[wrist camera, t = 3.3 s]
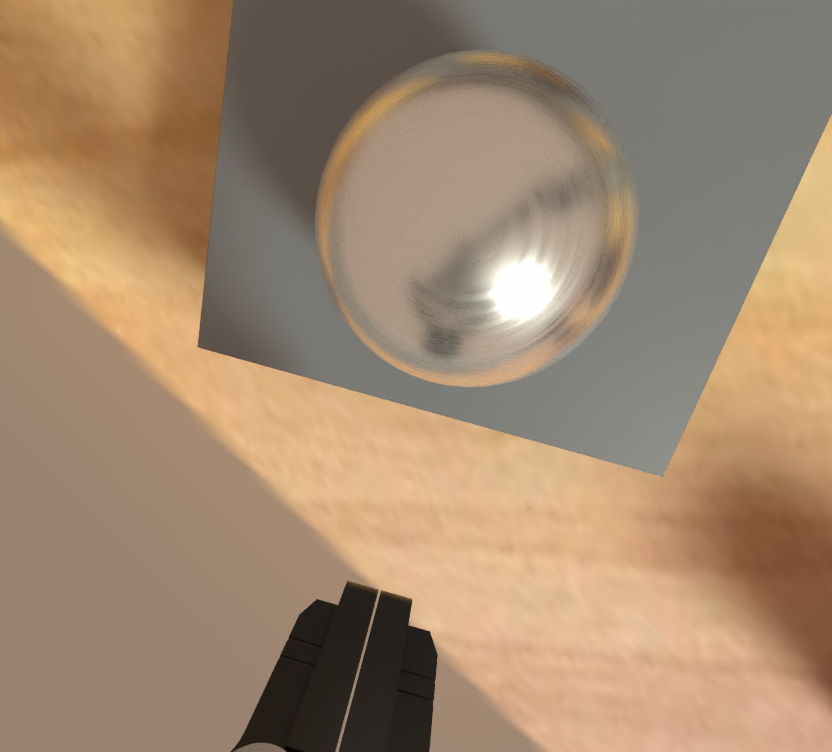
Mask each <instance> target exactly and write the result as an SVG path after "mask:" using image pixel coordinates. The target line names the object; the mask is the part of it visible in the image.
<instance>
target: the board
mask: <svg viewBox="0 0 832 752" xmlns="http://www.w3.org/2000/svg"><path fill="white" fill-rule="evenodd" d="M467 50H499V51H505V52H511V53H518V54H521V55H524V56H527V57H531V58H534V59H537V60H540V61H542V62H544V63H546V64H548V65H550V66H552V67H554V68H556V69H558V70H560V71H562V72H563V73H565V74H566V75H568V76H569V77H570V78H572V79H573V80H575V81H576V82H578V83H579V84H580V85H581V86H583V87H584V88H585V89H586V90H587V91H588V92H589V93H590V94H591V95H592V96H593V97H594V98H595V99H596V100H597V101H598V102H599V104H600V105H601V106H602V107H603V109H604V110H605V111H606V113H607V114H608V115H609V117H610V118H611V119H612V121H613V123H614V124H615V126H616V128H617V130H618V132H619V133H620V135H621V137H622V139H623V141H624V143H625V146H626V149H627V151H628V154H629V157H630V159H631V162H632V166H633V170H634V175H635V179H636V184H637V192H638V204H639V218H638V234H637V239H636V245H635V251H634V255H633V259H632V262H631V265H630V268H629V271H628V275H627V277H626V279H625V282H624V284H623V286H622V288H621V290H620V293H619V295H618V297H617V298H616V300H615V302H614V303H613V305H612V307H611V308H610V310H609V311H608V313H607V315H606V316H605V317H604V318H603V320H602V321H601V322H600V323H599V325H598V326H597V327H596V328H595V330H594V331H593V332H592V333H591V334H590V335H589V336H588V337H587V338H586V339H585V340H584V341H583V342H582V343H581V344H580V345H579V346H578V347H577V348H575V349H574V350H573V351H571V352H570V353H569V354H567V355H566V356H565V357H564V358H562V359H561V360H559V361H557V362H556V363H554V364H552V365H551V366H549V367H547V368H546V369H544V370H542V371H539V372H537V373H535V374H532V375H530V376H528V377H525V378H522V379H519V380H515V381H512V382H509V383H505V384H499V385H493V386H486V387H458V386H448V385H443V384H438V383H433V382H429V381H426V380H423V379H420V378H417V377H415V376H412V375H410V374H408V373H406V372H404V371H402V370H399V369H397V368H395V367H394V366H392V365H391V364H389V363H388V362H386V361H385V360H383V359H382V358H380V357H379V356H377V355H376V354H375V353H374V352H373V351H372V350H370V349H369V348H368V347H367V346H366V345H365V344H364V343H363V342H362V341H361V340H360V339H359V338H358V337H357V336H356V335H355V334H354V333H353V331H352V330H351V329H350V328H349V326H348V325H347V323H346V322H345V321H344V319H343V318H342V316H341V315H340V313H339V312H338V310H337V308H336V306H335V304H334V302H333V300H332V299H331V297H330V294H329V292H328V289H327V287H326V284H325V282H324V279H323V276H322V272H321V268H320V264H319V260H318V255H317V248H316V240H315V210H316V201H317V193H318V189H319V185H320V180H321V176H322V173H323V170H324V167H325V164H326V162H327V159H328V156H329V153H330V151H331V149H332V148H333V146H334V144H335V142H336V140H337V138H338V136H339V134H340V132H341V131H342V129H343V128H344V126H345V125H346V124H347V122H348V121H349V119H350V118H351V116H352V115H353V114H354V112H355V111H356V110H357V109H358V108H359V107H360V106H361V105H362V104H363V102H364V101H365V100H366V99H367V98H368V97H369V96H370V95H371V94H373V93H374V92H375V91H376V90H377V89H378V88H380V87H381V86H382V85H383V84H384V83H385V82H387V81H388V80H390V79H392V78H393V77H395V76H396V75H398V74H399V73H401V72H402V71H404V70H406V69H408V68H410V67H412V66H414V65H416V64H419V63H421V62H423V61H425V60H428V59H431V58H434V57H438V56H441V55H444V54H448V53H454V52H461V51H467ZM831 114H832V0H234V1H233V10H232V20H231V30H230V39H229V49H228V59H227V68H226V78H225V88H224V97H223V107H222V117H221V126H220V136H219V146H218V155H217V165H216V175H215V184H214V194H213V204H212V214H211V223H210V233H209V243H208V252H207V262H206V272H205V281H204V291H203V301H202V310H201V320H200V330H199V339H198V347H199V348H202V349H206V350H210V351H213V352H217V353H220V354H224V355H228V356H231V357H235V358H238V359H242V360H246V361H249V362H253V363H256V364H260V365H264V366H267V367H271V368H274V369H278V370H281V371H285V372H289V373H292V374H296V375H299V376H303V377H307V378H310V379H314V380H317V381H321V382H325V383H328V384H332V385H335V386H339V387H343V388H346V389H350V390H353V391H357V392H360V393H364V394H368V395H371V396H375V397H378V398H382V399H386V400H389V401H393V402H396V403H400V404H404V405H407V406H411V407H414V408H418V409H422V410H425V411H429V412H432V413H436V414H439V415H443V416H447V417H450V418H454V419H457V420H461V421H465V422H468V423H472V424H475V425H479V426H483V427H486V428H490V429H493V430H497V431H501V432H504V433H508V434H511V435H515V436H518V437H522V438H526V439H529V440H533V441H536V442H540V443H544V444H547V445H551V446H554V447H558V448H562V449H565V450H569V451H572V452H576V453H580V454H583V455H587V456H590V457H594V458H597V459H601V460H605V461H608V462H612V463H615V464H619V465H623V466H626V467H630V468H633V469H637V470H641V471H644V472H648V473H651V474H655V475H659V476H662V477H663V475H664V473H665V471H666V469H667V466H668V464H669V462H670V460H671V458H672V456H673V454H674V451H675V449H676V447H677V445H678V443H679V441H680V438H681V436H682V434H683V432H684V430H685V428H686V426H687V423H688V421H689V419H690V417H691V415H692V413H693V411H694V408H695V406H696V404H697V402H698V400H699V398H700V395H701V393H702V391H703V389H704V387H705V385H706V383H707V380H708V378H709V376H710V374H711V372H712V370H713V368H714V365H715V363H716V361H717V359H718V357H719V355H720V352H721V350H722V348H723V346H724V344H725V342H726V340H727V337H728V335H729V333H730V331H731V329H732V327H733V325H734V322H735V320H736V318H737V316H738V314H739V312H740V309H741V307H742V305H743V303H744V301H745V299H746V297H747V294H748V292H749V290H750V288H751V286H752V284H753V282H754V279H755V277H756V275H757V273H758V271H759V269H760V266H761V264H762V262H763V260H764V258H765V256H766V254H767V251H768V249H769V247H770V245H771V243H772V241H773V239H774V236H775V234H776V232H777V230H778V228H779V226H780V224H781V221H782V219H783V217H784V215H785V213H786V211H787V208H788V206H789V204H790V202H791V200H792V198H793V196H794V193H795V191H796V189H797V187H798V185H799V183H800V181H801V178H802V176H803V174H804V172H805V170H806V168H807V165H808V163H809V161H810V159H811V157H812V155H813V153H814V150H815V148H816V146H817V144H818V142H819V140H820V138H821V135H822V133H823V131H824V129H825V127H826V125H827V122H828V120H829V118H830V116H831Z"/></svg>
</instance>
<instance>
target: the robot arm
mask: <svg viewBox="0 0 832 752" xmlns="http://www.w3.org/2000/svg"><path fill="white" fill-rule="evenodd" d="M377 593H378V589H374V588H371V587H367V586H364V585H360V584H357V583H353V582H349V581H347V583H346V586H345V588H344V591H343V594H342V597H341V599H340V602H339V605H335V604H332V603H328V602H325V601H321V600H318V599H317V600H316V601H314V602H313V603H312V604H311V605H310V606H309V607H308V608H306V609H305V610H304V611H303V612H302V613H301V614H300V615H299V617H298V619H297V621H296V623H295V625H294V627H293V630H292V632H291V634H290V636H289V639H288V641H287V642H286V644H285V646H284V649H283V651H282V653H281V655H280V658H279V660H278V661H277V664H276V666H275V668H274V670H273V672H272V674H271V676H270V679H269V681H268V683H267V685H266V687H265V690H264V692H263V694H262V696H261V698H260V700H259V702H258V704H257V707H256V709H255V711H254V713H253V715H252V717H251V719H250V721H249V724H248V726H247V728H246V730H245V732H244V734H243V736H242V737H241V739H240V741H239V742H238V743H237V745H236V746H235V748H234V749H233V750H232V751H231V752H335V751H336V747H337V743H338V740H339V736H340V732H341V728H342V725H343V721H344V717H345V714H346V710H347V706H348V702H349V699H350V695H351V692H352V688H353V684H354V680H355V676H356V673H357V669H358V666H359V662H360V658H361V654H362V651H363V647H364V643H365V639H366V635H367V632H368V628H369V624H370V620H371V616H372V613H373V609H374V605H375V601H376V597H377ZM411 605H412V599H410V598H406V597H403V596H399V595H396V594H392V593H389V592H385V591H382V590H381V593H380V597H379V601H378V605H377V609H376V612H375V616H374V620H373V624H372V628H371V632H370V635H369V639H368V643H367V647H366V650H365V654H364V658H363V662H362V665H361V669H360V673H359V677H358V681H357V684H356V688H355V692H354V696H353V700H352V703H351V707H350V711H349V715H348V719H347V722H346V726H345V730H344V734H343V737H342V741H341V745H340V749H339V752H429V748H430V737H431V725H432V713H433V700H434V690H435V678H436V667H437V652H436V649H435V646H434V643H433V640H432V637H431V634H430V632H429V631H426V630H422V629H419V628H416V627H412V626H409V625H408V623H409V617H410V611H411Z"/></svg>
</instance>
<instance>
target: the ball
mask: <svg viewBox="0 0 832 752" xmlns="http://www.w3.org/2000/svg"><path fill="white" fill-rule="evenodd" d="M638 218H639V204H638V192H637V184H636V179H635V175H634V170H633V166H632V162H631V159H630V157H629V154H628V151H627V149H626V146H625V143H624V141H623V139H622V137H621V135H620V133H619V132H618V130H617V128H616V126H615V124H614V123H613V121H612V119H611V118H610V117H609V115H608V114H607V113H606V111H605V110H604V109H603V107H602V106H601V105H600V104H599V102H598V101H597V100H596V99H595V98H594V97H593V96H592V95H591V94H590V93H589V92H588V91H587V90H586V89H585V88H584V87H583V86H581V85H580V84H579V83H578V82H576V81H575V80H573V79H572V78H570V77H569V76H568V75H566V74H565V73H563V72H562V71H560V70H558V69H556V68H554V67H552V66H550V65H548V64H546V63H544V62H542V61H540V60H537V59H534V58H531V57H527V56H524V55H521V54H518V53H511V52H505V51H499V50H467V51H461V52H454V53H448V54H444V55H441V56H438V57H434V58H431V59H428V60H425V61H423V62H421V63H419V64H416V65H414V66H412V67H410V68H408V69H406V70H404V71H402V72H401V73H399V74H398V75H396V76H395V77H393V78H392V79H390V80H388V81H387V82H385V83H384V84H383V85H382V86H381V87H380V88H378V89H377V90H376V91H375V92H374V93H373V94H371V95H370V96H369V97H368V98H367V99H366V100H365V101H364V102H363V104H362V105H361V106H360V107H359V108H358V109H357V110H356V111H355V112H354V114H353V115H352V116H351V118H350V119H349V121H348V122H347V124H346V125H345V126H344V128H343V129H342V131H341V132H340V134H339V136H338V138H337V140H336V142H335V144H334V146H333V148H332V149H331V151H330V153H329V156H328V159H327V162H326V164H325V167H324V170H323V173H322V176H321V180H320V185H319V189H318V193H317V201H316V210H315V240H316V248H317V255H318V260H319V264H320V268H321V272H322V276H323V279H324V282H325V284H326V287H327V289H328V292H329V294H330V297H331V299H332V300H333V302H334V304H335V306H336V308H337V310H338V312H339V313H340V315H341V316H342V318H343V319H344V321H345V322H346V323H347V325H348V326H349V328H350V329H351V330H352V331H353V333H354V334H355V335H356V336H357V337H358V338H359V339H360V340H361V341H362V342H363V343H364V344H365V345H366V346H367V347H368V348H369V349H370V350H372V351H373V352H374V353H375V354H376V355H377V356H379V357H380V358H382V359H383V360H385V361H386V362H388V363H389V364H391V365H392V366H394V367H395V368H397V369H399V370H402V371H404V372H406V373H408V374H410V375H412V376H415V377H417V378H420V379H423V380H426V381H429V382H433V383H438V384H443V385H448V386H458V387H486V386H493V385H499V384H505V383H509V382H512V381H515V380H519V379H522V378H525V377H528V376H530V375H532V374H535V373H537V372H539V371H542V370H544V369H546V368H547V367H549V366H551V365H552V364H554V363H556V362H557V361H559V360H561V359H562V358H564V357H565V356H566V355H567V354H569V353H570V352H571V351H573V350H574V349H575V348H577V347H578V346H579V345H580V344H581V343H582V342H583V341H584V340H585V339H586V338H587V337H588V336H589V335H590V334H591V333H592V332H593V331H594V330H595V328H596V327H597V326H598V325H599V323H600V322H601V321H602V320H603V318H604V317H605V316H606V315H607V313H608V311H609V310H610V308H611V307H612V305H613V303H614V302H615V300H616V298H617V297H618V295H619V293H620V290H621V288H622V286H623V284H624V282H625V279H626V277H627V275H628V271H629V268H630V265H631V262H632V259H633V255H634V251H635V245H636V239H637V234H638Z"/></svg>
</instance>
